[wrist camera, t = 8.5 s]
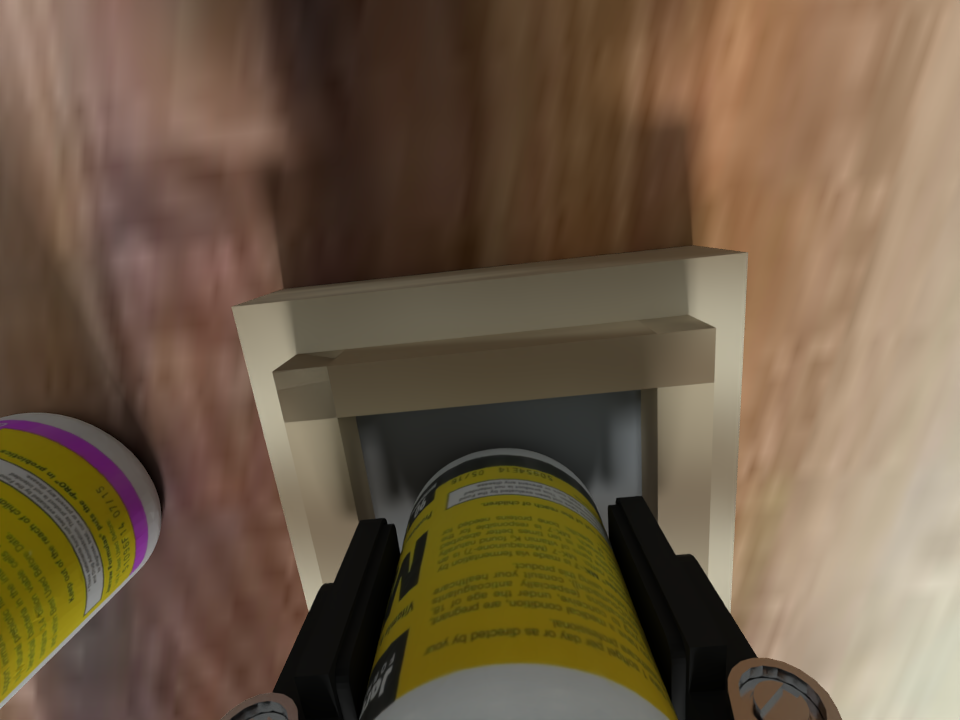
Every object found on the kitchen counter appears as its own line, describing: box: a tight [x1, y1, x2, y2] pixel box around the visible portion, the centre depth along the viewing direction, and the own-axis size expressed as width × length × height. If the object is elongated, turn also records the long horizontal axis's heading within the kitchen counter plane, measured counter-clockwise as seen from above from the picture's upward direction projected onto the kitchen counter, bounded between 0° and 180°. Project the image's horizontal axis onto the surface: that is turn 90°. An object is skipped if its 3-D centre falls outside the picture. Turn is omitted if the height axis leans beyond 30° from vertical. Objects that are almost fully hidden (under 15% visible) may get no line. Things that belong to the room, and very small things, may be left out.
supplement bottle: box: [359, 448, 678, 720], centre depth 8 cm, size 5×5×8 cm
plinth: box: [232, 245, 748, 612], centre depth 14 cm, size 12×12×4 cm
